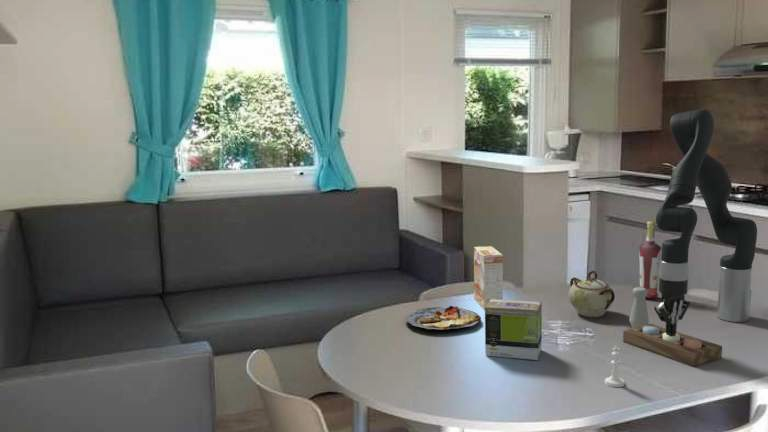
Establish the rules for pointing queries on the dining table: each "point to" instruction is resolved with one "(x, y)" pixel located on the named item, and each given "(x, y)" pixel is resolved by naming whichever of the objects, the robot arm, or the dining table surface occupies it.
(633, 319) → the salt shaker
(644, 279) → the liquor
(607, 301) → the sugar bowl
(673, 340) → the cream button
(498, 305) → the tea box
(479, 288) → the coffeecake box
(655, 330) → the slate button
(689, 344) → the terracotta button
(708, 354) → the wooden slotted tray
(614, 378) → the chess piece
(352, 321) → the dining table surface
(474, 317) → the food plate
